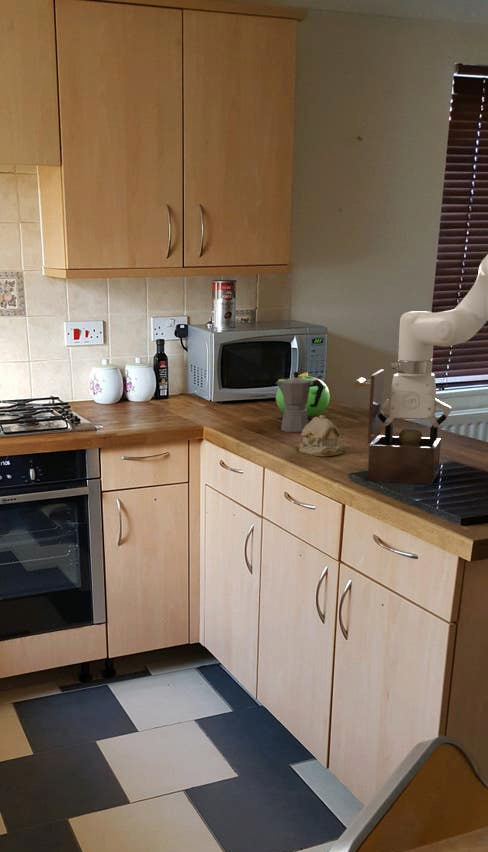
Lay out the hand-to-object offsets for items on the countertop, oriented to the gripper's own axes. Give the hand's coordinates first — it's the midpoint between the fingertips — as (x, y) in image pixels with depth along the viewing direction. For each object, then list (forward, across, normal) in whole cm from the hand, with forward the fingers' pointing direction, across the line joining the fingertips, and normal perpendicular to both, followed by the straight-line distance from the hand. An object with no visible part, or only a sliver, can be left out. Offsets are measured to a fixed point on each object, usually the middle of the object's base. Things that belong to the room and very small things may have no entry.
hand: (410, 442), depth 205 cm
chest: (+9, -1, 0) cm, 9 cm away
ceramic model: (+8, -27, +27) cm, 39 cm away
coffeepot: (+8, -42, +59) cm, 73 cm away
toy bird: (+8, -47, +83) cm, 96 cm away
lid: (-8, -8, 0) cm, 12 cm away
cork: (+8, 0, 0) cm, 8 cm away
